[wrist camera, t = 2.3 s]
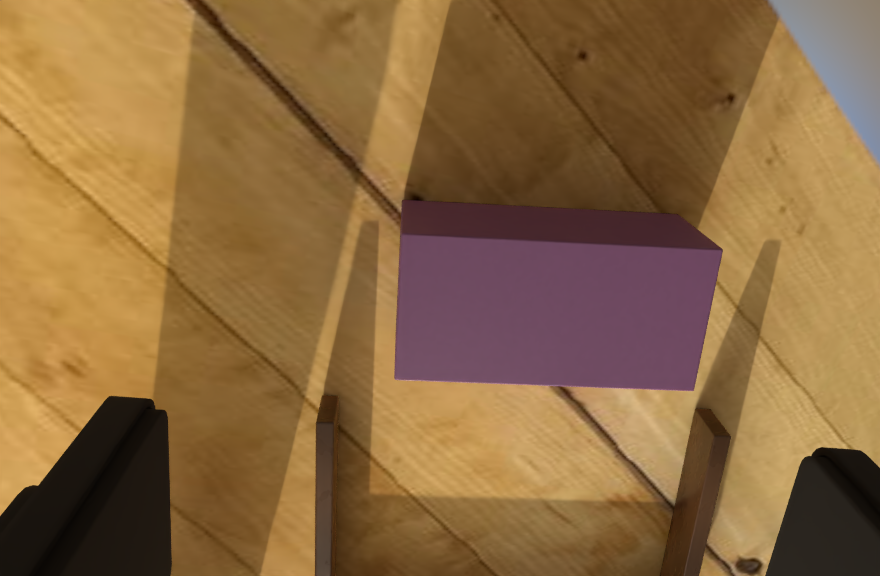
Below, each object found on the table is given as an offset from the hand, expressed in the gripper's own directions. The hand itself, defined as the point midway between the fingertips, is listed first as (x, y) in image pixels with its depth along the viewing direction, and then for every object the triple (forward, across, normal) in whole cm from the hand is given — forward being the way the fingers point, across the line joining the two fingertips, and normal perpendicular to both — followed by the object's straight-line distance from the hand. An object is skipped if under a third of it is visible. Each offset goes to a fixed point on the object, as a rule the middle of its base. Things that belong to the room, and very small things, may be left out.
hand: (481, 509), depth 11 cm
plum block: (+22, -5, +4) cm, 23 cm away
